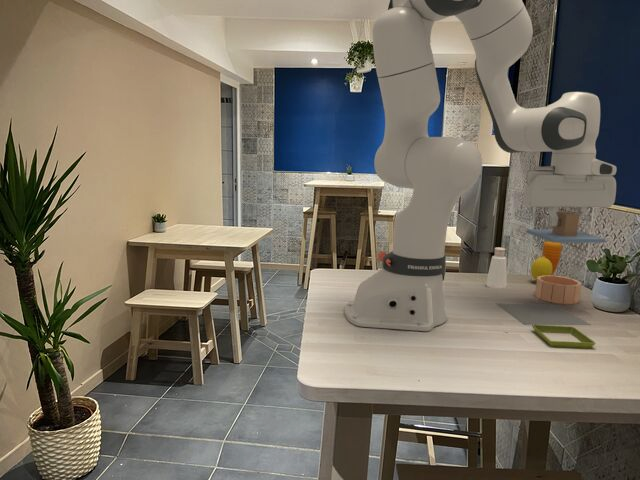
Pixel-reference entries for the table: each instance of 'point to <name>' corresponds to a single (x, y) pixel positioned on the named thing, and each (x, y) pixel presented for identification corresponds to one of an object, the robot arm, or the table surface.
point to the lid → (566, 231)
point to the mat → (542, 314)
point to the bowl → (558, 289)
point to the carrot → (552, 253)
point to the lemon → (541, 267)
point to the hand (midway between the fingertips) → (565, 226)
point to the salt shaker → (497, 270)
